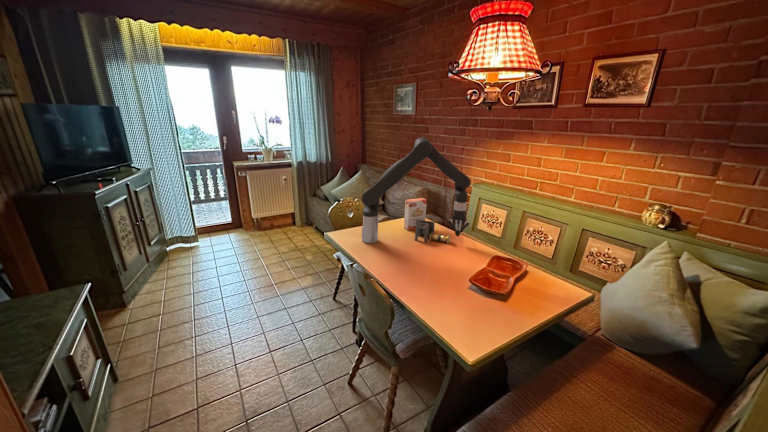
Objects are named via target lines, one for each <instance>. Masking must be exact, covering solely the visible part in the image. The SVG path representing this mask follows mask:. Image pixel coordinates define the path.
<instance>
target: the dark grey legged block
mask: <svg viewBox="0 0 768 432" xmlns="http://www.w3.org/2000/svg"><path fill="white" fill-rule="evenodd" d="M435 223H436V221H432V220H431V221H430V220H425V221H424V220H416V228H415V229H414V230H415V232H414V241H418V240H419V237H421V236H423V238H424V240H423V242H425V243H427V242H428V238H430V233H431V232H433V234H435V226H436V225H435Z"/></svg>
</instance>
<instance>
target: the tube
mask: <svg viewBox="0 0 768 432" xmlns="http://www.w3.org/2000/svg"><path fill="white" fill-rule="evenodd" d="M428 238H429V240H428V241H429V242H432V241H437V242H444V243H446V245H449V244H450V242H451V241H450V240H451V234H448V235H441V234H435V233H434V234H433V232H431V233H430V237H428Z"/></svg>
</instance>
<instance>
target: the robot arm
mask: <svg viewBox="0 0 768 432" xmlns="http://www.w3.org/2000/svg"><path fill="white" fill-rule="evenodd" d="M426 158H427V159H429V160H430V161H431V162H432V163H433V164H434V165H435V167H437V168H438V170H439V171H441V173H443V174H444V175H445V176H446V177H447V178H448V179H450V180H451V181H453V182H454V193H455V194H454V203H453V211H452V217H451V218H450V219H448V220H447V222H448V224H449V226H451V228H452V229H453V230H455V232H454V235H455V236H456V237H459V236H460V235H461V231H463V230H464V229H466V228H467V227H468V226H469V225H470V221H468V220H467V211H468V209H467V208H468V196H469V195H468V192H467V189H468V188H470V187H471V183H472V181H471V179H470V178H469V176H467V175H466V174H465V173H464V172H462V171H460V170H459V168H458V167H456V166H455V165H454V164H453V163H452V162H451V161H450V160H448V159H447V158H446V157H445V156H443V154H441V153H440V152H439V151H438V150H437V148H435V146H434V145H433V144H432V143H431V141H430V140H429V138H427V137H423V136H422V137H418V138H417V139H416V140H415V141H414V144H413V149H412V150H411V151H410V152H409V153H408V154H407V155H406V156H404V157H403V158H402V159H400V160H398V161H396V162H395V163H393V164H392V165H391V166H390V167H389V168H388V169H387V170H386V171H385V172H383V174H382V175H381V177H380V178H379V179H378V180H377V181H376V182H375V183H374V184H373V185H372V186H371V187H369V188H367V189H366V190H364V192H363V193H362V195H361V203H362V204H363V210H362V226H361V241H362V242H363V243H365V244H375V243H377V242H378V240H379V210H380V198H381V196H382V195H383V194H385V193H386V192H387V191H388V190H390V189H391V188H393V187H394V186H395V185H396V184H398V183H399V182H400V181H401V180H402V179H403V178H404V177H405V176H406V175H407V174H408V173H410V172H411V171H412V169H413V168H415V167H416V166H417V165H418V164H419V163H421V162H422V161H423V160H425V159H426ZM463 224H464V225H463ZM462 225H463V226H462Z"/></svg>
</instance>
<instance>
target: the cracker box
mask: <svg viewBox="0 0 768 432" xmlns="http://www.w3.org/2000/svg"><path fill="white" fill-rule="evenodd" d="M427 202H428V200H427V199H426V198H424V197H419V198H410V199H405V203H404V204H405V205H404V217H403V218H404V223H403V228H404V229H405V230H406V231H413V230H415V228H416V220H424V221H426V217H427V216H426V213H427Z"/></svg>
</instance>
